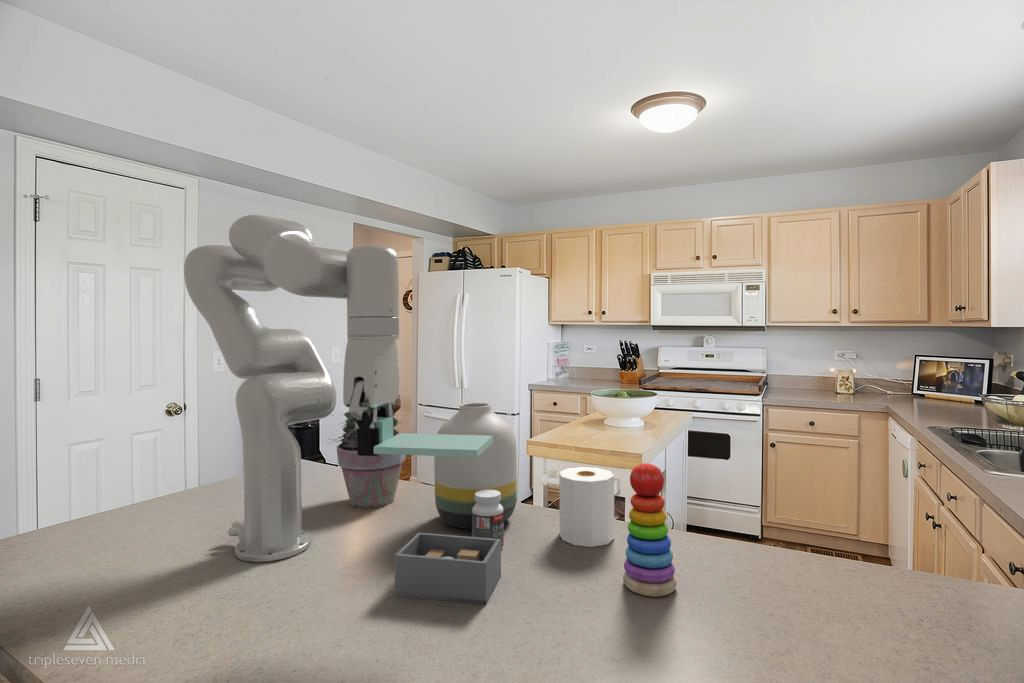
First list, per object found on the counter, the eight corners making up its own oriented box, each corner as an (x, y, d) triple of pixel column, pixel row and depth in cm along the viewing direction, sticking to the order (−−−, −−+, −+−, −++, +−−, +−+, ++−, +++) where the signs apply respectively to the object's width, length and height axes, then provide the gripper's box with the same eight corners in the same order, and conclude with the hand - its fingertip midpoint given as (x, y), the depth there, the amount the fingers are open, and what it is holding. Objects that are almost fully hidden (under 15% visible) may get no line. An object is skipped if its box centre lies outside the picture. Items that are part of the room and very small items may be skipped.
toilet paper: (608, 550, 95) (608, 483, 95) (552, 542, 99) (552, 477, 99) (618, 530, 105) (618, 469, 104) (567, 523, 108) (567, 464, 108)
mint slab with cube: (347, 453, 76) (346, 424, 76) (377, 438, 86) (376, 414, 86) (477, 457, 73) (477, 428, 72) (493, 442, 82) (492, 416, 82)
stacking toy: (677, 578, 84) (677, 460, 84) (675, 603, 77) (675, 473, 76) (626, 571, 87) (626, 456, 86) (619, 594, 79) (619, 468, 79)
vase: (534, 521, 110) (533, 405, 109) (466, 543, 99) (465, 413, 98) (484, 501, 123) (483, 397, 122) (419, 519, 112) (418, 404, 111)
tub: (395, 595, 80) (394, 555, 79) (418, 568, 88) (418, 532, 88) (486, 604, 77) (485, 563, 76) (501, 576, 85) (500, 539, 85)
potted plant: (327, 493, 130) (326, 390, 129) (409, 487, 135) (408, 388, 134) (319, 518, 112) (317, 400, 112) (413, 510, 117) (412, 396, 117)
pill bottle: (499, 555, 93) (499, 499, 93) (468, 553, 94) (467, 497, 94) (506, 542, 99) (506, 489, 99) (476, 540, 100) (476, 487, 100)
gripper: (374, 330, 89) (375, 440, 89) (320, 330, 73) (323, 464, 73) (417, 329, 88) (418, 441, 88) (372, 329, 71) (374, 466, 72)
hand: (375, 450), depth 80 cm, fingers closed on mint slab with cube, 4 cm apart
